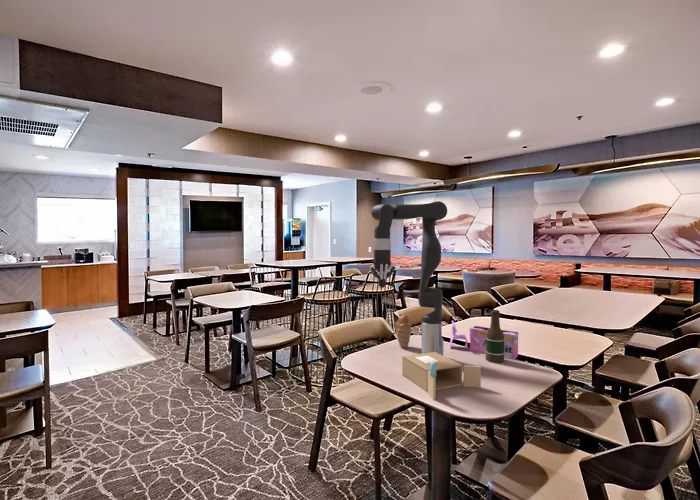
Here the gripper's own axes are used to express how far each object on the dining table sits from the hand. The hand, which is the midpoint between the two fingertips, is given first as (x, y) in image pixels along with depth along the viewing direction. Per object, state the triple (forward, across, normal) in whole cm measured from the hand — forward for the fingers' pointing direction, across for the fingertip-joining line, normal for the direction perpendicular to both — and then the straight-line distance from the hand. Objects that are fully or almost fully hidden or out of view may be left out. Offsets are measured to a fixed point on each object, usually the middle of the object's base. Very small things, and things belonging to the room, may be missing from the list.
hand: (382, 287), depth 166 cm
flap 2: (+35, +18, -34) cm, 52 cm away
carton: (+35, +10, -24) cm, 44 cm away
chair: (+35, +47, +6) cm, 59 cm away
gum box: (+35, +56, -8) cm, 67 cm away
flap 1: (+35, +2, -34) cm, 49 cm away
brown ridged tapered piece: (+35, +22, +18) cm, 45 cm away
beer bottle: (+35, +50, -16) cm, 63 cm away
